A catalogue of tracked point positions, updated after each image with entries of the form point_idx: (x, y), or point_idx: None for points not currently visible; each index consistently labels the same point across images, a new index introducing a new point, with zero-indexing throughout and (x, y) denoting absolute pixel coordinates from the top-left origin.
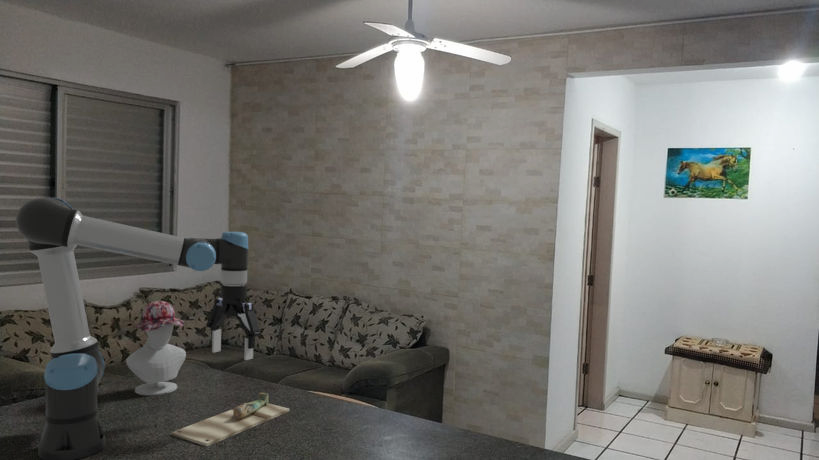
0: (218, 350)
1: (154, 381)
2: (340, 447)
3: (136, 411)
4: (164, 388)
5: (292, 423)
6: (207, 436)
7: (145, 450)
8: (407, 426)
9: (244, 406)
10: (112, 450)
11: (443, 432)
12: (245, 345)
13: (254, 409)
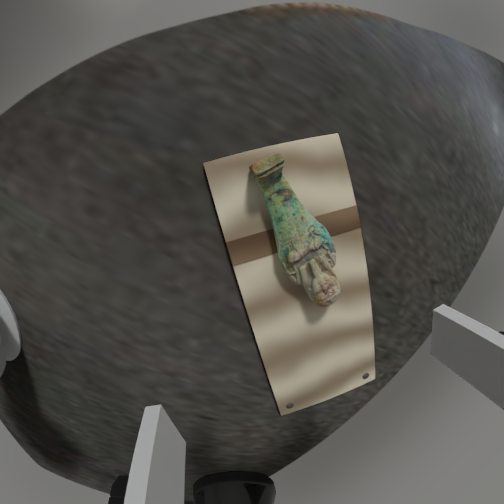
0: (169, 423)
1: (4, 357)
2: (492, 202)
3: (103, 410)
4: (4, 321)
5: (401, 186)
6: (351, 372)
7: (309, 442)
8: (480, 77)
9: (326, 274)
10: (274, 467)
11: (499, 76)
12: (486, 389)
13: (333, 244)
